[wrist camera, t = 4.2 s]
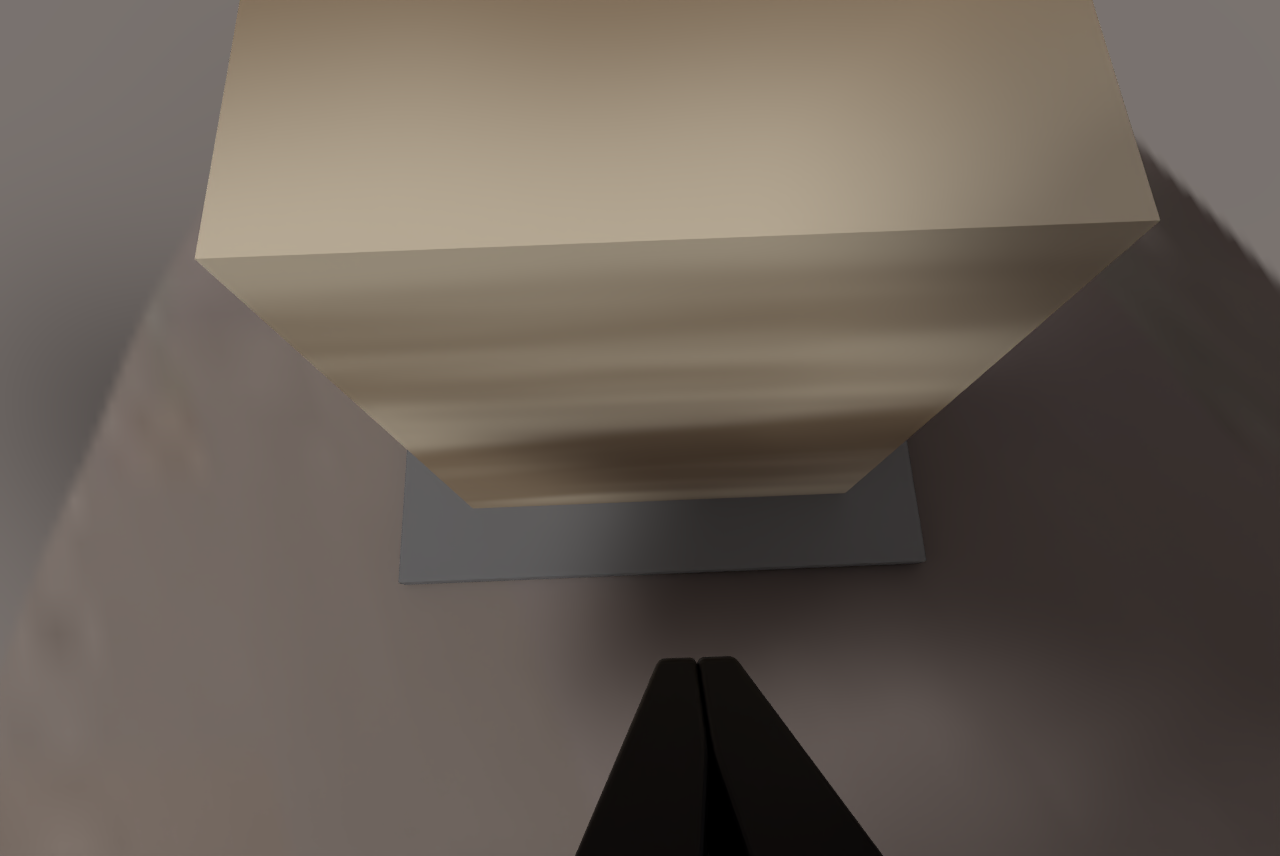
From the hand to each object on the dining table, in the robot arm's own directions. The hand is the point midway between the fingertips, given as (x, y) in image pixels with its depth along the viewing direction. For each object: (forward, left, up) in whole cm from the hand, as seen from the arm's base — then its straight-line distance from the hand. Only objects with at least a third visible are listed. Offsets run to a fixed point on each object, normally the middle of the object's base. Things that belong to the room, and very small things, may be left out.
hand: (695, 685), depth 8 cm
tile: (+5, -1, -7) cm, 8 cm away
